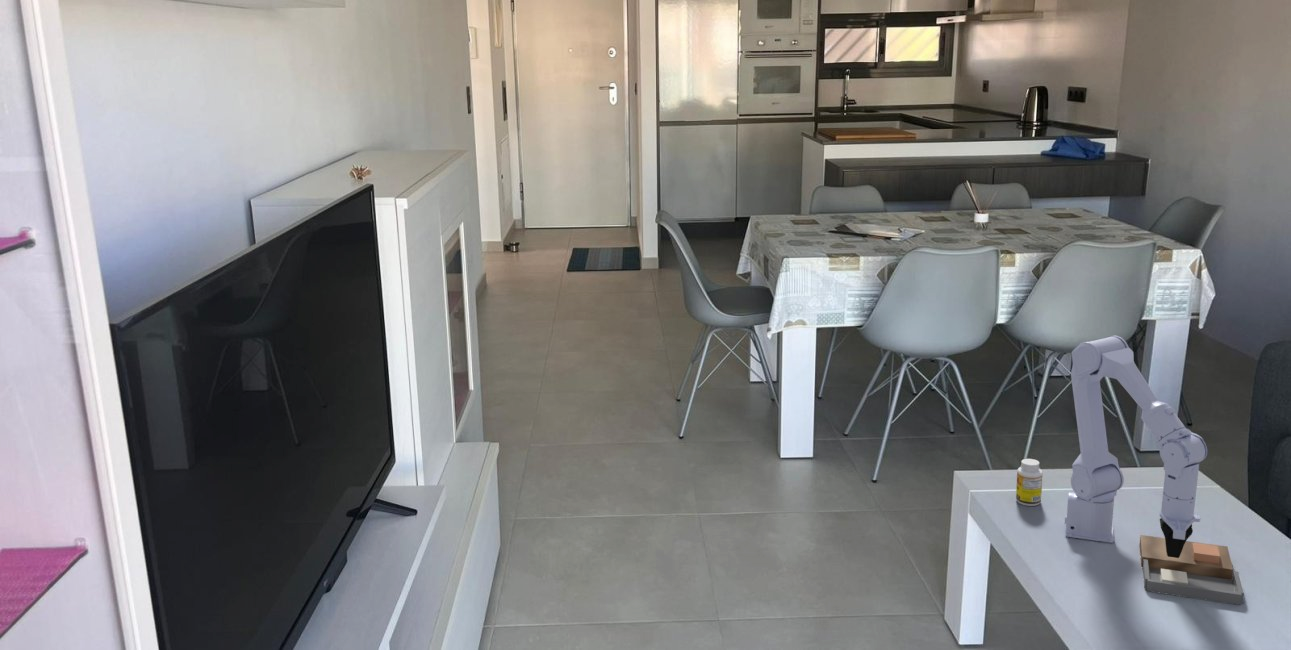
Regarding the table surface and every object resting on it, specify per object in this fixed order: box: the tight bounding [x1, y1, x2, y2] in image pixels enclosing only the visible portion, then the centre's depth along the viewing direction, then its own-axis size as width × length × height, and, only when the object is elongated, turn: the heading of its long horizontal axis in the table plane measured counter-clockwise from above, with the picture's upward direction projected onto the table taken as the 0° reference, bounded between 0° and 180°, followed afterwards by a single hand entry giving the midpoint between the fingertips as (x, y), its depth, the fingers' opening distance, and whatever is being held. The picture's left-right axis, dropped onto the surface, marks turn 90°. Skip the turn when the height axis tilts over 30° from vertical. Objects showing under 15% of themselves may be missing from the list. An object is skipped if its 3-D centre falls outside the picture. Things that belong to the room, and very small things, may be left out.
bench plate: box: [1138, 534, 1234, 580], centre depth 198 cm, size 16×10×2 cm, turn 66°
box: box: [1142, 559, 1244, 606], centre depth 190 cm, size 17×9×2 cm, turn 66°
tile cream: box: [1160, 569, 1188, 585], centre depth 190 cm, size 4×4×2 cm
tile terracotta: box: [1192, 542, 1220, 563], centre depth 196 cm, size 4×4×2 cm
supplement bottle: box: [1015, 458, 1043, 507], centre depth 228 cm, size 6×6×10 cm
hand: (1172, 555), depth 195 cm, fingers closed
